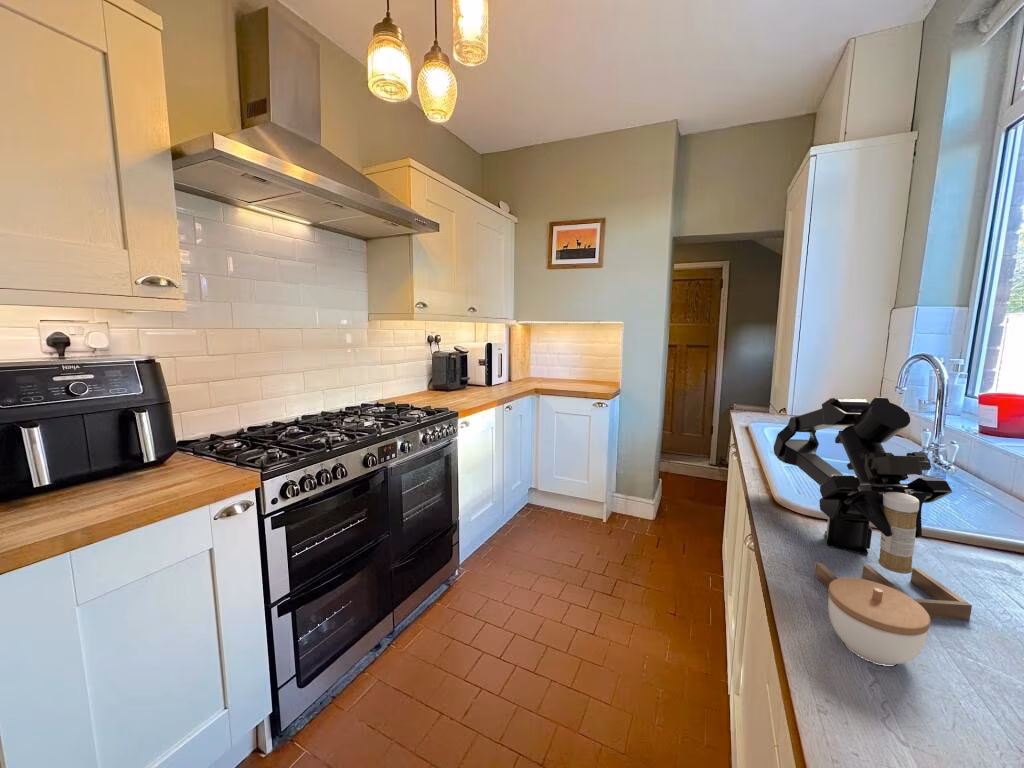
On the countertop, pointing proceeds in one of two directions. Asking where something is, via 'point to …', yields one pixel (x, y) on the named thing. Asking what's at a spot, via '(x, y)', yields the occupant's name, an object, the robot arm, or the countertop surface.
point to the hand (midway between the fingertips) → (904, 536)
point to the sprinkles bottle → (899, 532)
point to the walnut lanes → (945, 598)
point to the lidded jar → (877, 620)
